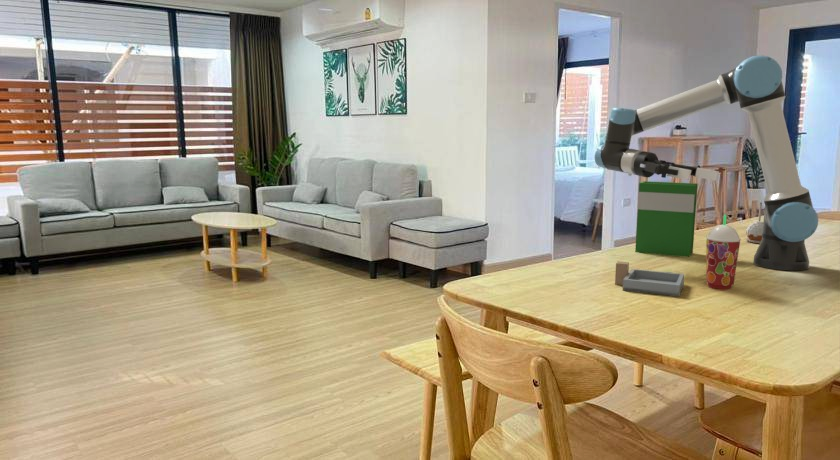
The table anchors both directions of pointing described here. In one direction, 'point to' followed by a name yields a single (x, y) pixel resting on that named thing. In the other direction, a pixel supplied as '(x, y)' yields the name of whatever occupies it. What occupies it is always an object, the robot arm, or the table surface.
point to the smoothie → (721, 256)
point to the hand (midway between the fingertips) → (704, 175)
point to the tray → (648, 280)
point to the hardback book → (666, 218)
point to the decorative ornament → (755, 230)
